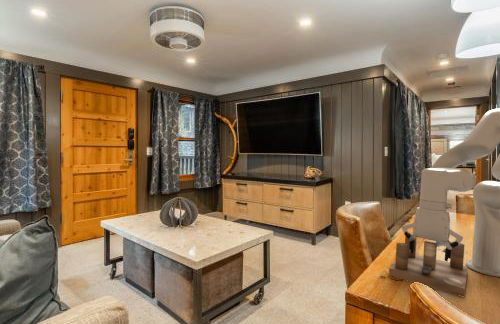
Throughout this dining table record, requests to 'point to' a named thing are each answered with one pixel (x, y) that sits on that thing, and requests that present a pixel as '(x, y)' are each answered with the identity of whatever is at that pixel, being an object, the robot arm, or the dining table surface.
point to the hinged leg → (429, 257)
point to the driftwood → (440, 244)
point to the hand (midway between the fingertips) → (429, 255)
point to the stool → (441, 277)
